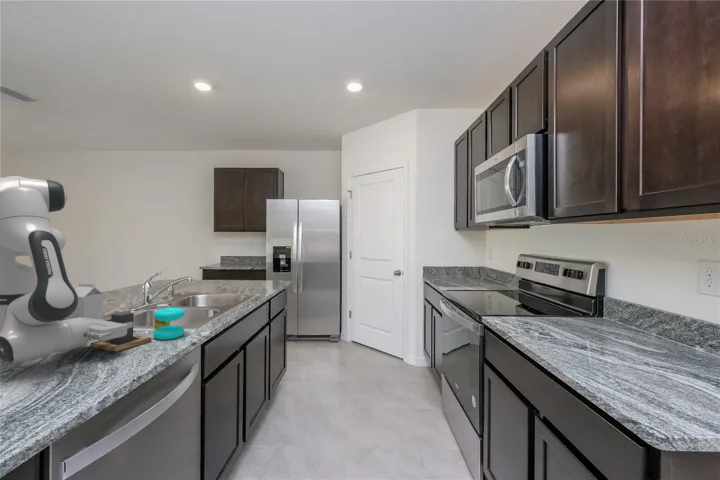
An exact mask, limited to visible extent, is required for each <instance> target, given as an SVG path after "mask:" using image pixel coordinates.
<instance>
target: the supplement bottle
mask: <svg viewBox="0 0 720 480" xmlns="http://www.w3.org/2000/svg"><path fill="white" fill-rule="evenodd" d="M164 308H169V304H167V303H163V304H160V303H159V304H157V305H156V310H155V311H154V313H155V312H156V311H157V310H160V309H164ZM153 319H154V321H153V323H154V327H153V329H154V328H156V329H158V328H160V327H163V326H168V325H171V321H159V320H157V319H155V317H154V318H153ZM156 329H154V331H155V330H156Z"/></svg>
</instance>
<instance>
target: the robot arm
mask: <svg viewBox="0 0 720 480" xmlns="http://www.w3.org/2000/svg"><path fill="white" fill-rule="evenodd" d="M67 200H68V193H67V191H66V190H65V188H64V186H63V185H62V184H61V183H60V182H58V181H55V180H50V179H46V180H45V179H44V180H43V179H38V178H31V177H29V178H28V177H24V176H20V175H10V176H8V175H7V176H5V177H0V359H1V360H3V361H4V362H6V363H7V362H8V363H22V362H26V361H31V360H36V359H39V358H40V359H42V358H44V357H48V356H49V355H52V354H54V353H62V352H67V351H70V350H75V349H78V348H81V347H85V346H86V345H87V344H88V343H89V341H90V340H95V341H102V340H109V339H114V338H118V337H123V336H125V335H126V334H127V329H128V328H131V327H133V328H134V322H125V323H124V324H123V323H117V322H111V318H103V319H102V320H98V319H92V318H80V317H79V318H72V319H67V317H68V316H70V315H71V314H72V313H73V312H74V311H75V309H76V308H77V305H78V295H77V293H76V291H75V289H76V288H74V286H73V285H72V283H71V282H70V280H69V277H68V274H67V271H66V266H65V263H64V259H63V255H62V251H63V249H64V247H65V245H66V239H65V236H64V234H63V233H62V232H61V231H60V230H59V229H55V228H53V227H52V224H51V223H52V222H51V217H50V213H54V212H59V211H62V210H63V209H64V207H65V205H66V204H67ZM27 256H28V257H29V259H30V262H31V266H29V265H28V264H27V265H26V264H23V263H20V262H18V261H17V260H16V257H27Z"/></svg>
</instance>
